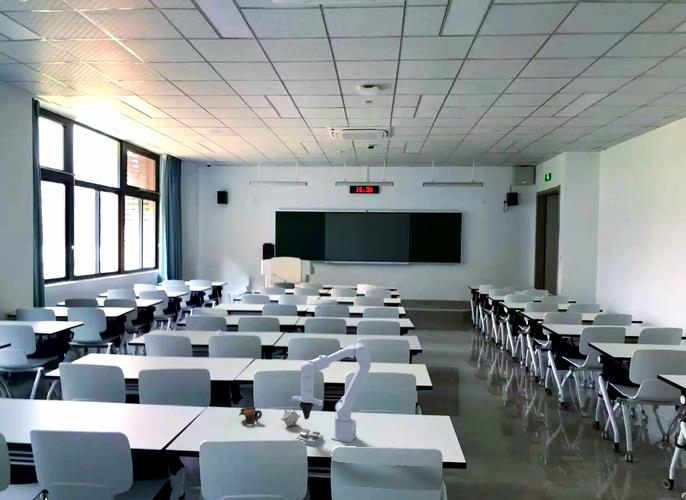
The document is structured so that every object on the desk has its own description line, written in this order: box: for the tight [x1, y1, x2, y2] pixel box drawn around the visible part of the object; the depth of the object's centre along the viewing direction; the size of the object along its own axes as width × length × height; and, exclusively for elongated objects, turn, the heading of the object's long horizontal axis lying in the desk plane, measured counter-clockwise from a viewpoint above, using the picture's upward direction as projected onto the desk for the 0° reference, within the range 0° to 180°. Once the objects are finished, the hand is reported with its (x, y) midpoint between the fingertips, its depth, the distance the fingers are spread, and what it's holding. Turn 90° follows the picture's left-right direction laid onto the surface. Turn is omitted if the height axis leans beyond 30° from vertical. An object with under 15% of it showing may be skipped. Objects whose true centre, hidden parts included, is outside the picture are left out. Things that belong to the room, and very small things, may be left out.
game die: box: [280, 407, 301, 429], centre depth 233 cm, size 9×8×10 cm
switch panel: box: [295, 432, 324, 447], centre depth 216 cm, size 10×7×3 cm
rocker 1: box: [299, 428, 311, 437], centre depth 217 cm, size 3×4×1 cm
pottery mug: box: [238, 406, 263, 426], centre depth 237 cm, size 12×10×8 cm
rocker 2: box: [310, 431, 321, 438], centre depth 215 cm, size 3×4×1 cm
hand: (306, 418), depth 218 cm, fingers closed
